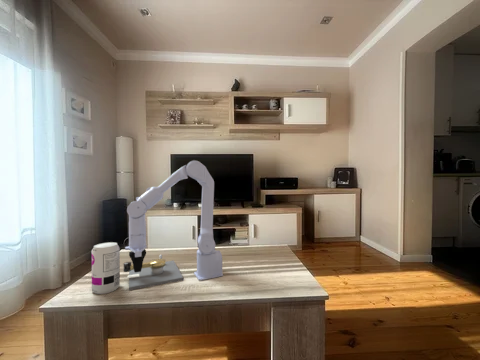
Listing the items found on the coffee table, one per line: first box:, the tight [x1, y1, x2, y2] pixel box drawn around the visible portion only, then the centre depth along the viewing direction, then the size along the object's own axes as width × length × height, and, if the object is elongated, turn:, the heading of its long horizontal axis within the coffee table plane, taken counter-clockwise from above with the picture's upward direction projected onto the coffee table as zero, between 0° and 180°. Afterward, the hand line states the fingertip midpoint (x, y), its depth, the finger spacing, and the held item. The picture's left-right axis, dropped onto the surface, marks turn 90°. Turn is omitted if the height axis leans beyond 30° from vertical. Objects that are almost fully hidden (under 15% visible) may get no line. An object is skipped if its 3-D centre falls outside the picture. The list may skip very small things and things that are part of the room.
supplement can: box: [91, 241, 121, 295], centre depth 79 cm, size 8×8×15 cm
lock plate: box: [127, 254, 184, 291], centre depth 91 cm, size 18×21×5 cm
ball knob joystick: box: [123, 258, 166, 273], centre depth 89 cm, size 15×6×3 cm, turn 115°
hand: (137, 271), depth 85 cm, fingers closed
